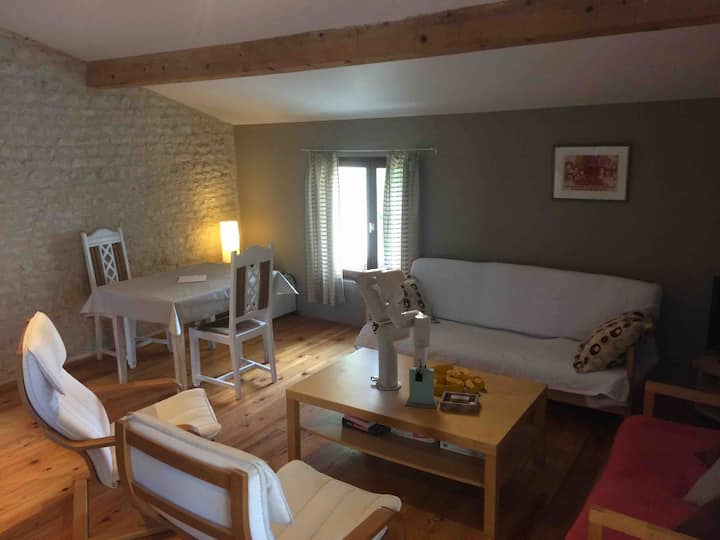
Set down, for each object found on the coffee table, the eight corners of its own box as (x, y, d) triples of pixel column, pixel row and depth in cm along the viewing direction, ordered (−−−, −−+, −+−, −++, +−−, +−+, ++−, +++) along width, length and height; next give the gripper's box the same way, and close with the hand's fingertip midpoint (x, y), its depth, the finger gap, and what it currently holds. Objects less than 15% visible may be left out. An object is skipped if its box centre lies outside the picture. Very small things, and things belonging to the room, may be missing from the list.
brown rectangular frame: (439, 409, 275) (439, 402, 274) (443, 398, 287) (443, 391, 286) (475, 413, 271) (475, 405, 270) (478, 401, 283) (478, 394, 282)
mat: (404, 406, 279) (404, 404, 279) (409, 397, 289) (409, 396, 289) (435, 409, 275) (435, 407, 275) (438, 400, 285) (438, 399, 285)
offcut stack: (449, 408, 277) (449, 397, 276) (450, 405, 280) (450, 394, 279) (474, 410, 274) (474, 400, 273) (474, 407, 277) (475, 397, 276)
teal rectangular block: (409, 401, 282) (409, 369, 279) (410, 399, 285) (410, 366, 282) (433, 404, 279) (433, 371, 276) (434, 401, 282) (434, 368, 279)
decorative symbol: (426, 363, 321) (484, 366, 315) (426, 372, 322) (484, 375, 316) (421, 384, 292) (484, 387, 287) (421, 394, 293) (484, 398, 288)
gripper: (417, 335, 286) (416, 369, 290) (409, 347, 270) (408, 383, 273) (433, 336, 284) (431, 371, 288) (426, 349, 268) (425, 385, 271)
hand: (420, 377), depth 280 cm, fingers open, 9 cm apart
